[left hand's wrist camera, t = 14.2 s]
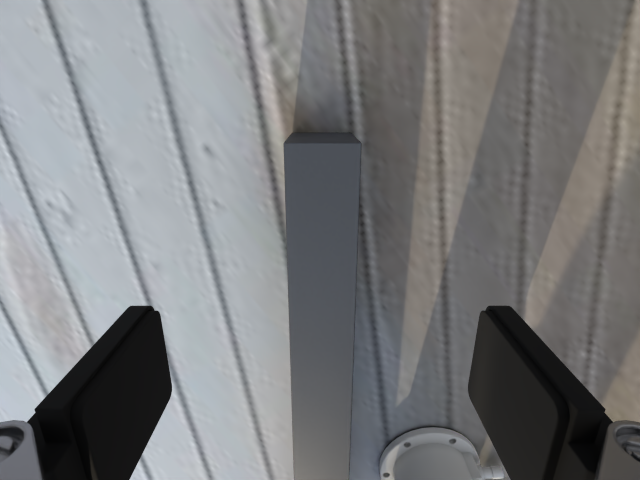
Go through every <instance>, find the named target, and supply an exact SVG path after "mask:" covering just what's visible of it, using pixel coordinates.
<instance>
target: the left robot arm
mask: <svg viewBox="0 0 640 480" xmlns="http://www.w3.org/2000/svg"><path fill="white" fill-rule="evenodd" d="M171 392H172V384H171V377H170V371H169V365H168V359H167V353H166V347H165V341H164V335H163V329H162V322H161V316H160V313H159V311H154V309H153V307H152V306H130V307H128V308H127V310H126V311H125V312H124V313H123V314H122V315H121V316H120V317H119V318H118V319H117V320H116V321H115V323H114V324H113V325H112V326H111V327H110V328H109V329H108V330H107V331H106V332H105V333H104V335H103V336H102V337H101V338H100V339H99V340H98V341H97V342H96V343H95V344H94V345H93V346H92V348H91V349H90V350H89V351H88V352H87V353H86V354H85V355H84V356H83V357H82V358H81V359H80V361H79V362H78V363H77V364H76V365H75V366H74V367H73V368H72V369H71V370H70V371H69V373H68V374H67V375H66V376H65V377H64V378H63V379H62V380H61V381H60V382H59V383H58V384H57V386H56V387H55V388H54V389H53V390H52V391H51V392H50V393H49V394H48V395H47V396H46V398H45V399H44V400H43V401H42V402H41V403H40V404H39V405H38V406H37V407H36V408H35V412H36V413H35V414H34V415H33V416H32V417H31V418H30V419H29V421H28V422H24V421H17V420H12V421H6V422H1V423H0V480H129V479H130V477H131V475H132V473H133V471H134V469H135V467H136V465H137V463H138V461H139V459H140V457H141V455H142V453H143V451H144V449H145V447H146V445H147V443H148V441H149V439H150V437H151V435H152V433H153V431H154V429H155V427H156V425H157V423H158V421H159V419H160V417H161V415H162V413H163V411H164V409H165V407H166V405H167V403H168V401H169V399H170V397H171ZM468 392H469V397H470V399H471V401H472V403H473V405H474V407H475V409H476V411H477V413H478V415H479V417H480V419H481V421H482V423H483V425H484V427H485V429H486V431H487V433H488V435H489V437H490V439H491V441H492V443H493V445H494V447H495V449H496V451H497V453H498V455H499V457H500V459H501V461H502V463H503V465H504V467H505V469H506V471H507V473H508V475H509V477H510V479H511V480H640V423H639V422H634V421H628V420H623V421H616V422H612V421H611V419H610V418H609V417H608V416H607V415H606V414H605V413H604V412H605V408H604V407H603V406H602V405H601V404H600V403H599V402H598V401H597V400H596V399H595V398H594V396H593V395H592V394H591V393H590V392H589V391H588V390H587V389H586V388H585V387H584V386H583V384H582V383H581V382H580V381H579V380H578V379H577V378H576V377H575V376H574V375H573V374H572V373H571V371H570V370H569V369H568V368H567V367H566V366H565V365H564V364H563V363H562V362H561V361H560V359H559V358H558V357H557V356H556V355H555V354H554V353H553V352H552V351H551V350H550V349H549V348H548V346H547V345H546V344H545V343H544V342H543V341H542V340H541V339H540V338H539V337H538V336H537V335H536V333H535V332H534V331H533V330H532V329H531V328H530V327H529V326H528V325H527V324H526V323H525V321H524V320H523V319H522V318H521V317H520V316H519V315H518V314H517V313H516V312H515V311H514V310H513V308H512V307H510V306H488V307H487V309H486V311H481V313H480V316H479V322H478V329H477V335H476V341H475V347H474V353H473V359H472V365H471V371H470V377H469V384H468ZM379 472H380V478H381V480H484V479H485V480H510V479H509V477H504V473H503V470H502V467H501V466H500V465H496V466H489V467H481V466H480V459H479V456H478V454H477V452H476V449H475V448H474V446H473V444H472V443H471V442H470V441H469V440H468V439H467V438H466V437H464V436H463V435H461V434H460V433H458V432H455V431H453V430H449V429H445V428H436V427H429V428H421V429H416V430H412V431H410V432H407V433H405V434H403V435H401V436H400V437H398V438H396V439H395V440H394V441H393V442H391V443H390V444H389V445H388V447H387V448H386V449H385V450H384V452H383V454H382V456H381V459H380V463H379Z"/></svg>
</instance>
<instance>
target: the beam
mask: <svg viewBox="0 0 640 480" xmlns="http://www.w3.org/2000/svg"><path fill="white" fill-rule="evenodd" d="M360 166H361V142H360V141H359V140H358V139H357V138H356V137H355V136H354V135H353V134H352V133H292V134H291V135H290V136H289V137H288V139H287V140H286V141H285V142H284V169H285V202H286V234H287V266H288V299H289V331H290V363H291V396H292V428H293V460H294V480H349V466H350V439H351V411H352V384H353V357H354V330H355V303H356V275H357V248H358V221H359V194H360Z"/></svg>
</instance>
